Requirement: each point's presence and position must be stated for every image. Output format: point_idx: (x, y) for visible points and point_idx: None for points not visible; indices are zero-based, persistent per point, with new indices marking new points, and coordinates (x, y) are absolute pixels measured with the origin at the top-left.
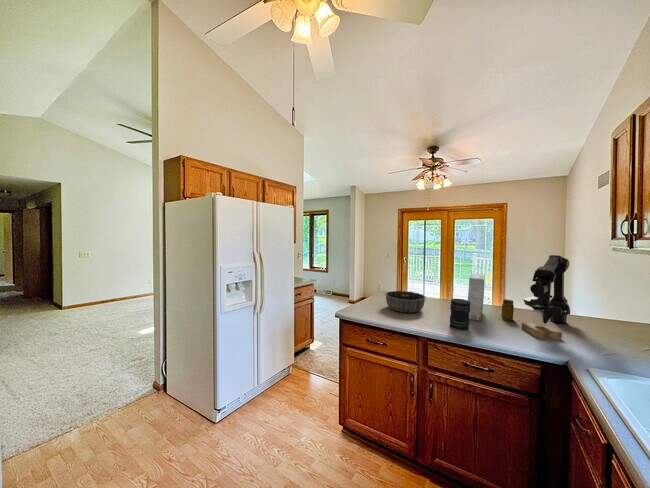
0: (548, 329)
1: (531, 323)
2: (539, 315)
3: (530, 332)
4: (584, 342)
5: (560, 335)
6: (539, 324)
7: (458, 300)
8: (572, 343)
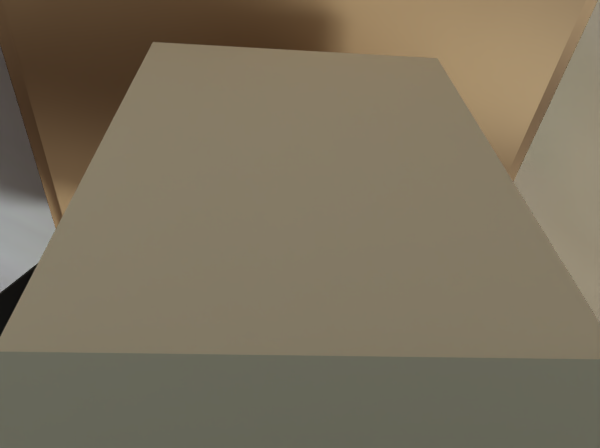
0: None
1: (521, 78)
2: (70, 265)
3: None
4: None
5: None
6: (147, 63)
7: None
8: (4, 250)
